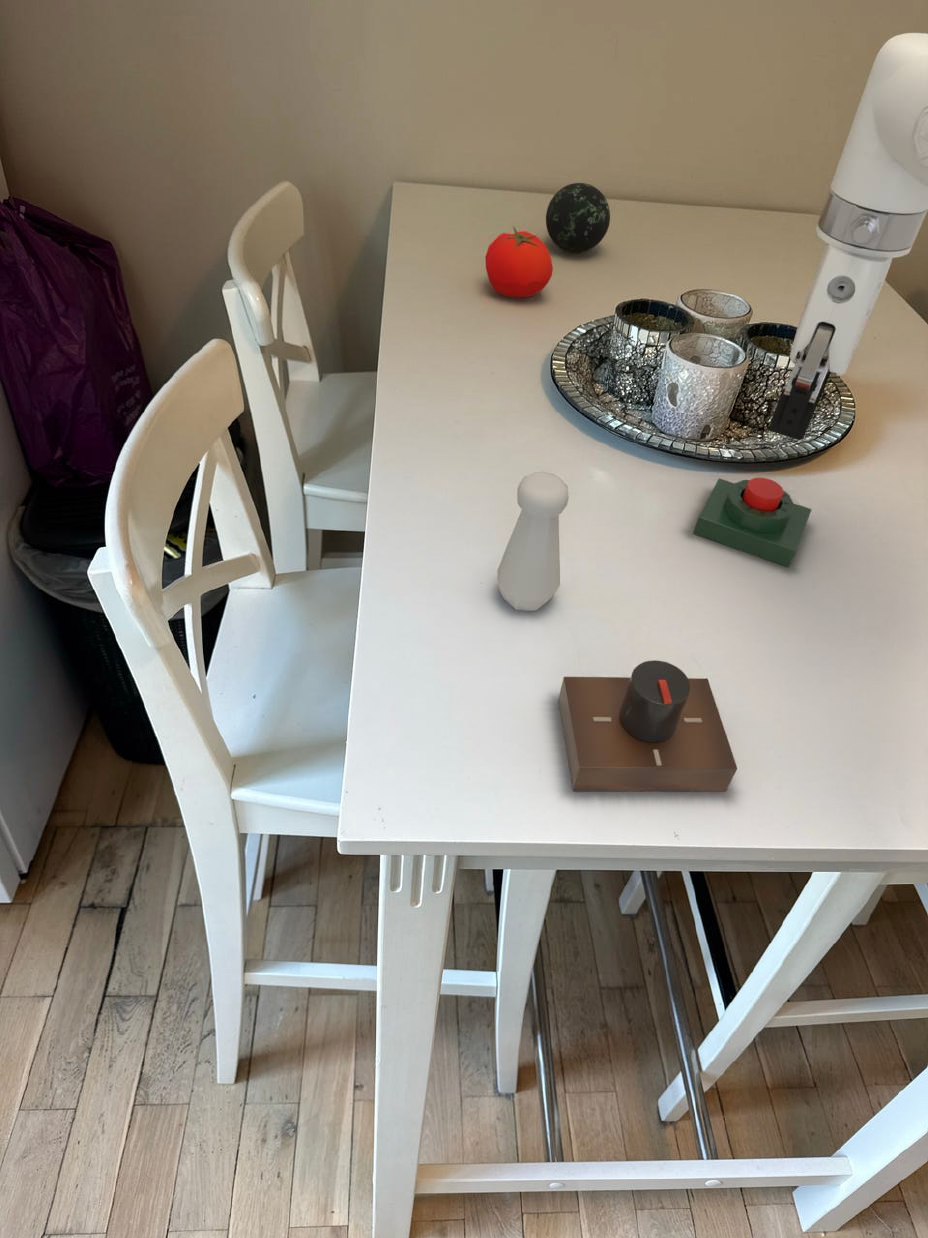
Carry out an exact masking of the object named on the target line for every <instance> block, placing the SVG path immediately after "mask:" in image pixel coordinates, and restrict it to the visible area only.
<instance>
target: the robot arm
mask: <svg viewBox="0 0 928 1238" xmlns="http://www.w3.org/2000/svg"><path fill="white" fill-rule="evenodd" d="M853 118H854V119H853V121H852V124H851V128H850V129H849V133H848V134H847V135H848V136H847V138H846V141H845V144H844V146H843V150H842V151H841V152H842V153H841V156H840V157H839V161H838V164H837V166H836V170H835V173H834V175H833V178H832V181H831V184H830V187H829V189H828V192H827V194H826V198H825V200H824V204H823V207H822V209H821V212H820V215H819V218H818V222H817V224H816V227H815V233H816V235H817V237H818V238H819V239H821V240H822V241H823V242H825V245H824V249H823V252H822V254H821V256H820V260H819V262H818V265H817V268H816V272H815V273H814V277H813V280H812V282H811V286H810V289H809V291H808V294H807V296H806V300H805V302H804V305H803V309H802V312H801V316H800V319H799V322H798V325H797V328H796V333H795V335H794V340H793V342H792V346H791V349H790V353H789V359H790V361H791V362H792V363H793V364H794V367H793V369H792V371H791V373H790V376H789V379H788V380H787V381H788V382H787V384H786V387H785V388H783V389H782V390H781V393H780V396H779V398H778V401H777V404H776V407H775V409H774V412H773V414H772V417H771V419H770V423H769V425H768V431H770V432H772V433H775V434H778V435H781V436H784V437H787V438H790V439H794V440H797V441H801V440H803V439H804V438H805V435H806V433H807V431H808V428H809V426H810V423H811V421H812V418H813V416H814V413H815V412H816V408H817V407H818V405H819V403H820V400H821V398H822V395H823V393H824V390H825V388H826V385H827V383H828V381H829V378H830V375H831V373H832V374H833V373H834V374H835V377H841V376H842V375H845V374H846V373H847V371H848V368H849V366H850V364H851V361H852V359H853V357H854V356H855V355H854V354H855V352H856V350H857V348H858V345H859V343H860V340H861V339H862V336H863V334H864V331H865V329H866V326H867V324H868V322H869V319H870V318H871V315H872V313H873V310H874V308H875V305H876V303H877V300H878V299H879V296H880V294H881V290H882V288H883V286H884V284H885V281H886V278H887V276H888V273H889V270H890V267H891V265H892V261H893V259H894V258H895V259H896V258H903V257H904V256H907V255H908V254H909V253H910V252H911V250H912V248H913V245H914V243H915V242H916V240H917V239H916V238H917V237H918V234H919V232H920V229H921V227H922V225H923V222H924V220H925V218H926V215H927V213H928V33H926V32H906V33H901V34H897V35H895V36H893V37H890V38H889V39H888V40H887V41H886V42H885V43H884V44H883V45H882V47H881V48H880V49H879V51H878V53H877V54H876V56H875V59H874V61H873V64H872V67H871V69H870V73H869V75H868V78H867V81H866V84H865V87H864V90H863V92H862V95H861V99H860V101H859V104H858V106H857V110H856V113H855V115H854V117H853Z"/></svg>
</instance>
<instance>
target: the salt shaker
mask: <svg viewBox="0 0 928 1238" xmlns="http://www.w3.org/2000/svg"><path fill="white" fill-rule="evenodd" d="M516 501H517V505H518V506H519V507H520V509H521V511H520V513H519V515H518V518H517V520H516V523H515V526H514V527H513V530H512V533H511V535H510V537H509V540H508V542H507V545H506V547H505V550H504V552H503V555H502V557H501V560H500V562H499V565H498V567H497V570H496V581H497V582H496V583H497V586H498V589H499V591H500V593H501V597H502V599H503V600H505V602H507V603H508V605H510V606H511V607H512V608H513V609H514V610H515V611H526V612H527V611H528V612H536V611H538V610H539V609H540V608H541V607H543V606H544V605H545V604H546V603H547V602H548V601H549V600H550V599H552V597H554V595H555V594H556V592H557V591H558V589H560V588H559V587H560V585H561V561H560V559H561V558H560V555H561V554H560V553H561V552H560V515H561V514H562V513H563V511H564V510H565V509H566V507H567V506H568V502H569V487H568V484H567V483H566V482H565V481H564V480H563V479H562V478H561V477H560V476H558V475H556V474H554V473H551V472H547V471H535V472H532V473H529V474H527V475H525V476H524V477H523V478H522V479H521V481H520V482H519V484H518V486H517V492H516Z"/></svg>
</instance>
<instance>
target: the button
mask: <svg viewBox="0 0 928 1238" xmlns="http://www.w3.org/2000/svg"><path fill="white" fill-rule="evenodd" d="M749 480H750V481H749V482H748V484H747V486H746V489H745V492H744V495H743V502H744V503H746V504H747V505H748V506H750V507H751V508H754V509H757V510H760V511H769V512H773V511H775V510H776V509H777V508H778V506H779V503H780V501H781V498H782V496H783V493H784V491H785V490H784V488H783V487H782V485H780V484H779V483H778V482H777V481H775V480H773V479H770V478H766V477H753V478H751V479H749Z"/></svg>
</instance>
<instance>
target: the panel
mask: <svg viewBox="0 0 928 1238" xmlns="http://www.w3.org/2000/svg"><path fill="white" fill-rule="evenodd" d="M630 678H631V677H625V676H624V677H618V676H617V677H616V676H608V677H607V676H563V679H562V682H561V687H560V691H559V696H558V699H557V701H558V707H559V714H560V719H561V726H562V732H563V738H564V744H565V750H566V755H567V762H568V767H569V773H570V779H571V786H572V792H727V790H728V788H729V787H730V784H731V782H732V781H733V778H734V776H735V775H736V772H737V770H738V767H737V763H736V760H735V757H734V754H733V751H732V748H731V745H730V742H729V740H728V736H727V733H726V729H725V727H724V724H723V720H722V718H721V714H720V711H719V708H718V706H717V703H716V700H715V697H714V694H713V690H712V688H711V687H712V686H711V685H710V682H709V678H696V677H694V678H693V677H691V678H690V677H687V678H688V680H689V682H690V688H691V689H690V694H689V696H688V699H687V701H686V704H685V706H684V709H683V711H682V714H681V716H680V719H679V722H678V724H677V727H676V729H675V732H674V733H673V735H672V736H671V737H670V738H668V739H667V740H664V741H662V742H655V743H652V742H645V741H641V740H639V739H637V738H635V737H633V736H632V735H630V734H629V733H628V732H627V731H626V730H625V729H624V727H623V726H622V724H621V721H620V710H621V707H622V704H623V700H624V697H625V694H626V691H627V688H628V685H629V681H630Z"/></svg>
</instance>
